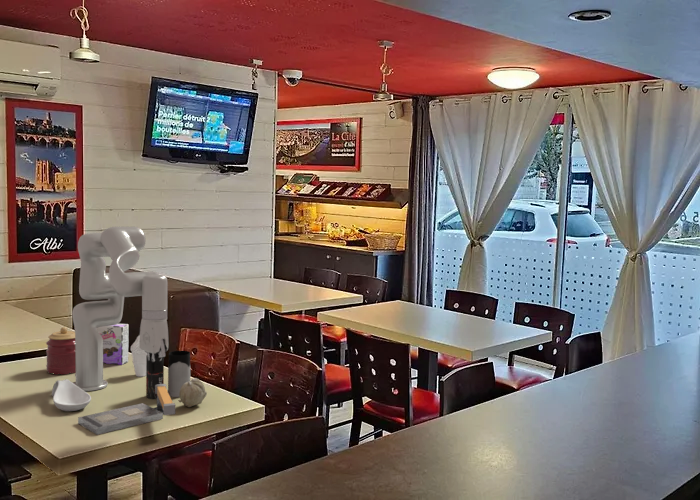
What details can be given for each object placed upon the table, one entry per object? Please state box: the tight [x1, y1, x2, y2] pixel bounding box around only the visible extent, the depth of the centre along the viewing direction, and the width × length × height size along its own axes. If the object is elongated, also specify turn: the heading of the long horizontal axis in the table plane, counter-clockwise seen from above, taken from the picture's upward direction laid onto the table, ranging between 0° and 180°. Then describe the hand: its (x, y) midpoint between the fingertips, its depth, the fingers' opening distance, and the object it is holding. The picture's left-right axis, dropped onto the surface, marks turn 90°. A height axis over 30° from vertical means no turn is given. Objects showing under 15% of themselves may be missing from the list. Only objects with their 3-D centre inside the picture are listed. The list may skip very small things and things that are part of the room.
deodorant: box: [145, 355, 165, 400], centre depth 242 cm, size 6×6×15 cm
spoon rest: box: [51, 378, 92, 412], centre depth 231 cm, size 24×12×7 cm, turn 38°
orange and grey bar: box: [155, 383, 176, 416], centre depth 216 cm, size 4×24×3 cm, turn 22°
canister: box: [45, 326, 76, 375], centre depth 271 cm, size 13×13×18 cm
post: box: [153, 395, 165, 416], centre depth 226 cm, size 6×6×6 cm
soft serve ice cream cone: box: [130, 334, 147, 378], centre depth 268 cm, size 8×8×16 cm
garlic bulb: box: [177, 377, 208, 408], centre depth 232 cm, size 9×8×10 cm
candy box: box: [96, 323, 130, 366], centre depth 286 cm, size 14×6×16 cm, turn 80°
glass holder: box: [167, 350, 191, 398], centre depth 249 cm, size 9×14×15 cm, turn 12°
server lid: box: [77, 402, 164, 436], centre depth 216 cm, size 13×22×2 cm, turn 136°
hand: (154, 372), depth 211 cm, fingers closed
